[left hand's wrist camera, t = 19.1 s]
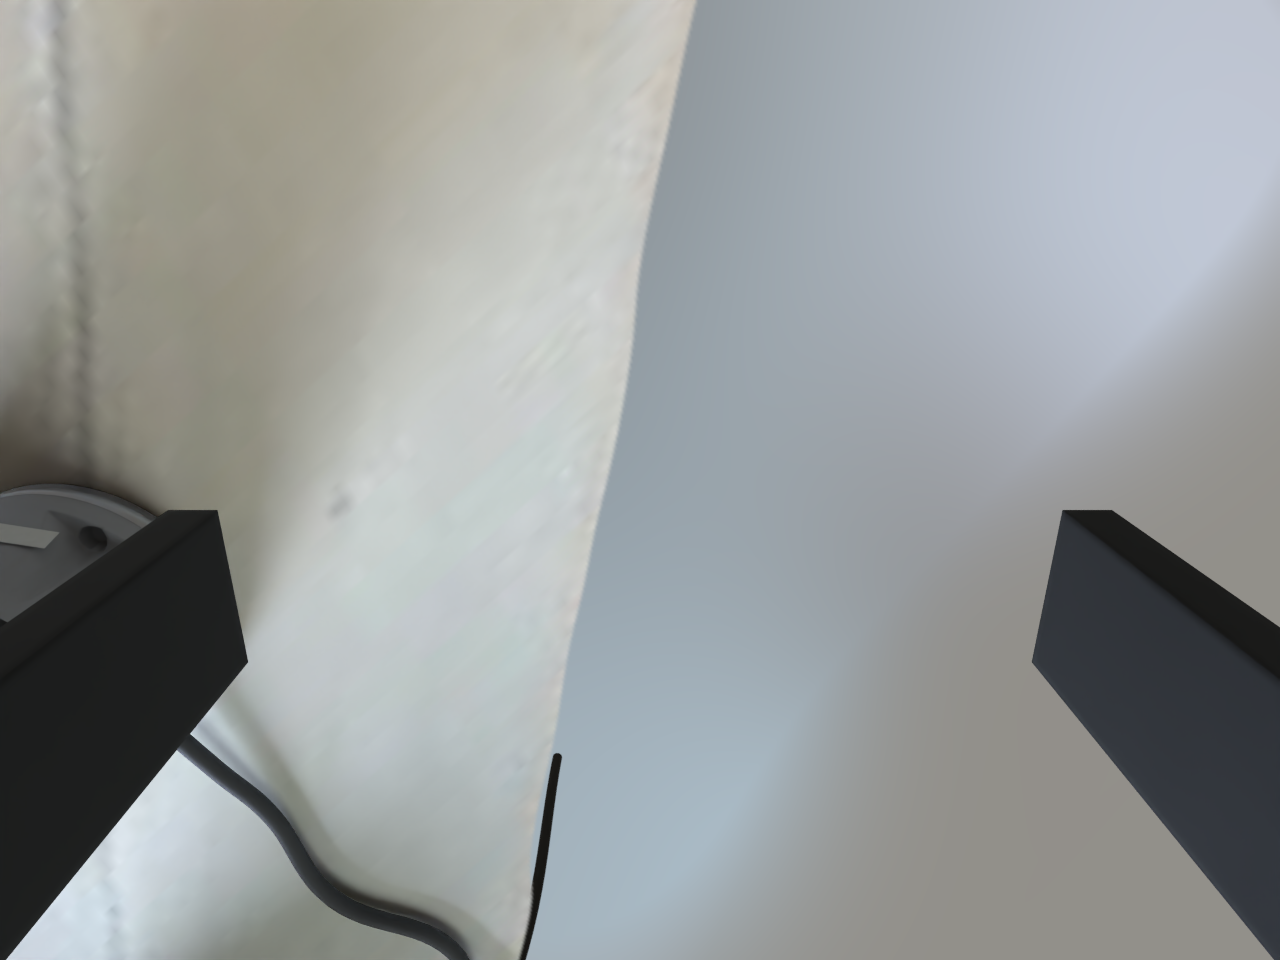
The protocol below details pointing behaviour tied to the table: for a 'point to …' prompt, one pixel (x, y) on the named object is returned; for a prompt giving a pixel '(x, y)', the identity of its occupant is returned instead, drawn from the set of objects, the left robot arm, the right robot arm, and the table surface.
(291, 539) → the table surface
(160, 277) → the table surface
